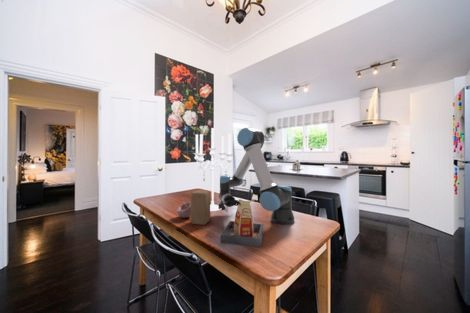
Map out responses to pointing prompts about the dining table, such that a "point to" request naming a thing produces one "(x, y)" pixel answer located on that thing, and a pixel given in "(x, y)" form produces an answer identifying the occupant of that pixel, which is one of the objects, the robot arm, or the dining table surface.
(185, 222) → the dining table surface
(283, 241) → the dining table surface
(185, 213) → the mortar and pestle
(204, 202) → the wooden block
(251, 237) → the carton holder
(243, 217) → the milk carton
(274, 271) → the dining table surface
